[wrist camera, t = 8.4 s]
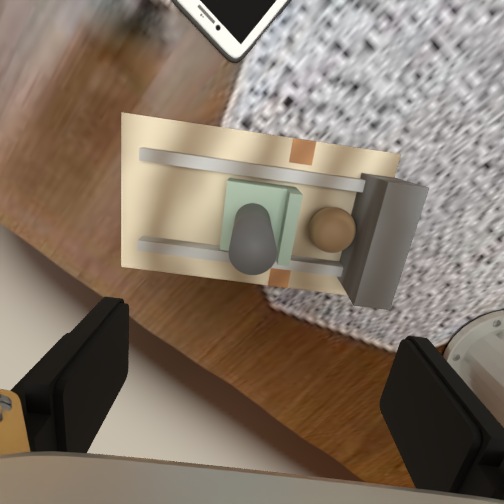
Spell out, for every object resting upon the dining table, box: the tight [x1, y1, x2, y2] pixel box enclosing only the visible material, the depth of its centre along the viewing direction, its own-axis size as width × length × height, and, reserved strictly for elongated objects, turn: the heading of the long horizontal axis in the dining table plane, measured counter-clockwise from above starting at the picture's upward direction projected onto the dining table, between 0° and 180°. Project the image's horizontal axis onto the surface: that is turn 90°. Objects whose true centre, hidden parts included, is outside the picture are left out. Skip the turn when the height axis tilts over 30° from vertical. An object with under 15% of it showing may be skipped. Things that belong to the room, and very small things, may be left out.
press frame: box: [121, 113, 429, 310], centre depth 28 cm, size 24×14×8 cm, turn 82°
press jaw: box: [220, 178, 303, 275], centre depth 25 cm, size 6×6×10 cm
